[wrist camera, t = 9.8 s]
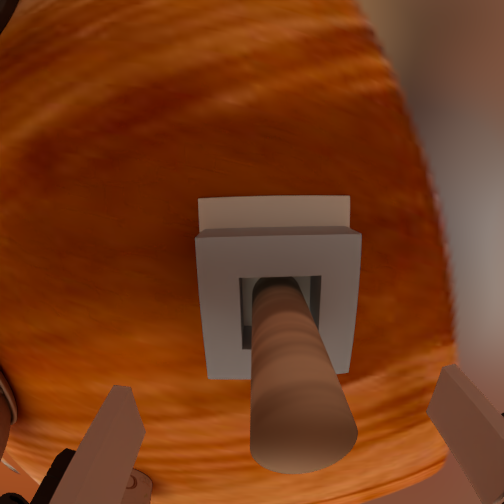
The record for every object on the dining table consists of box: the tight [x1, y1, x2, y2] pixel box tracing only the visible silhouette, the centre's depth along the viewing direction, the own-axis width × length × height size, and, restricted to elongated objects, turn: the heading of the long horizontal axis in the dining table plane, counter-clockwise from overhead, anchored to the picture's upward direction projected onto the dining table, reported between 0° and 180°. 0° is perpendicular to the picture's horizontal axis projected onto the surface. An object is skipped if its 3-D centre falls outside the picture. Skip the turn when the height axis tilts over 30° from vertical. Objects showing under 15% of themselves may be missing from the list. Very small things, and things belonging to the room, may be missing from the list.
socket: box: [195, 195, 362, 379], centre depth 23 cm, size 16×12×5 cm
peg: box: [250, 276, 358, 474], centre depth 17 cm, size 4×4×16 cm
